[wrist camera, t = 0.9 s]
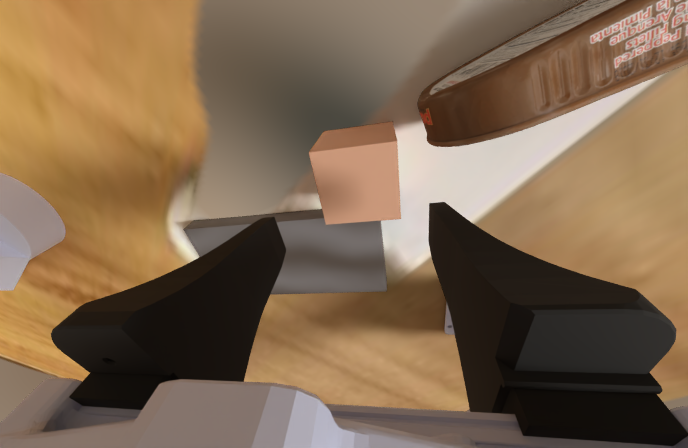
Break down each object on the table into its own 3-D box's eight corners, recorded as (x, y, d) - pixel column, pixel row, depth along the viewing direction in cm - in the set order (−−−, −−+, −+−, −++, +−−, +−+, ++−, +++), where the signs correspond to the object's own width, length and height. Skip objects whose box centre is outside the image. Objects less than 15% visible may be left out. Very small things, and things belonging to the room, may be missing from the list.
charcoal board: (386, 280, 26) (387, 291, 25) (230, 285, 30) (223, 295, 28) (379, 204, 21) (379, 213, 20) (193, 220, 25) (183, 229, 23)
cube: (396, 185, 21) (400, 218, 16) (335, 191, 21) (325, 224, 17) (392, 121, 18) (397, 141, 14) (323, 131, 19) (308, 152, 15)
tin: (419, 129, 18) (446, 177, 11) (404, 84, 17) (423, 106, 10) (711, -7, 13) (1108, -80, 6) (724, -89, 11) (1267, -313, 4)
